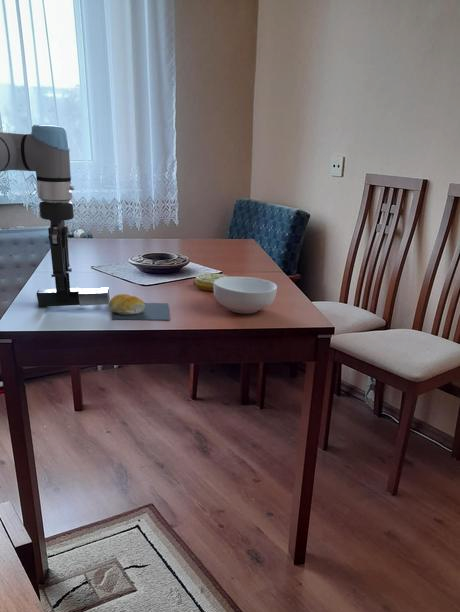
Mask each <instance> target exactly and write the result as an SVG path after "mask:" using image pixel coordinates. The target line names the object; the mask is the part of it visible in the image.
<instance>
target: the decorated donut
mask: <svg viewBox="0 0 460 612" xmlns="http://www.w3.org/2000/svg"><path fill="white" fill-rule="evenodd" d="M222 277H229V276H228V275H227V274H222V273H214V272H204V273H200V274H197V275H196V276H195V278H194V279H195V280H194V282H195V285H196V286H197V288H198V289H200V290H202V291H209V292H214V281H215V280H216V279H218V278H222Z"/></svg>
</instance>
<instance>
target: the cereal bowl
mask: <svg viewBox="0 0 460 612" xmlns="http://www.w3.org/2000/svg"><path fill="white" fill-rule="evenodd" d="M277 292H278V285H277V284H276V283H274V282H273V281H270V280H268V279H264V278H259V277H253V276H228V277H222V278H218V279H216V280H215V281H214V291H213V295H214V297H215V299H216V301H217V302H218V303H219V304H220V305H222V306H224V307H226V308H228V311H231V312H233V313H235V314H236V313H237V314H245V315H247V314H248V315H249V314H255V313H257V312H258V311H260V310H264V309H266V308H268V307H270V306H271V305H272V304H273V303H274V302H275V299H276V296H277Z"/></svg>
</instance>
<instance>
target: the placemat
mask: <svg viewBox="0 0 460 612" xmlns="http://www.w3.org/2000/svg"><path fill="white" fill-rule="evenodd" d="M144 304H145V307H144V310H143V312H141V313H139V314H134V315H121V314H118V313H115V312H113V311H112V317H111V321H171V315H170V307H169V303H168V302H144Z"/></svg>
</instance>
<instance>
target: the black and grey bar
mask: <svg viewBox="0 0 460 612" xmlns="http://www.w3.org/2000/svg"><path fill="white" fill-rule="evenodd" d="M68 297H69V303H57V295H56V288H50V289H49V288H48V289H37V291H36V299H37V304H38V308H49V307H66V306H67V307H69V306H80V307H82V306H83V307H85V306H100V305H101V306H103V305H109V303H110V300H111V297H110V288H109V287H100V288H97V287H96V288H80V287H72V288H71V287H70V288H69V289H68Z"/></svg>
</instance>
